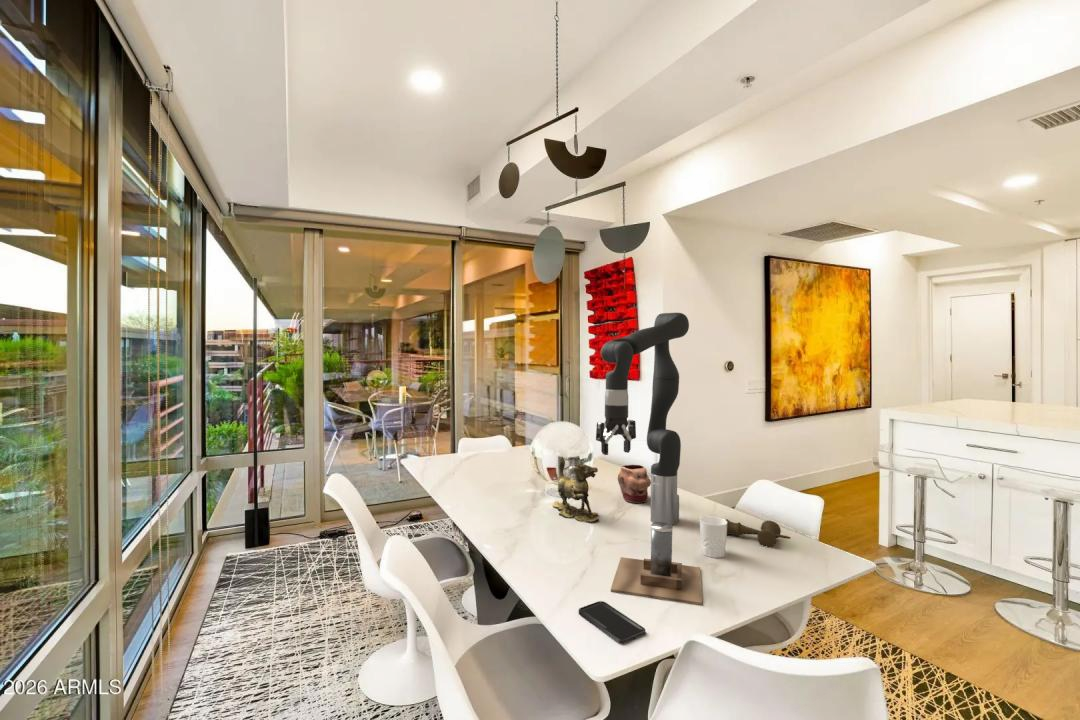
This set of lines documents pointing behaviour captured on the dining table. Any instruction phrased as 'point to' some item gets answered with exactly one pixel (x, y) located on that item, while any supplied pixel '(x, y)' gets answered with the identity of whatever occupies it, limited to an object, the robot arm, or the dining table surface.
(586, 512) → the figurine
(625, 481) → the decorative planter
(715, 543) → the white cup
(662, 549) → the graphite canister
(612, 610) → the phone
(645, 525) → the dining table surface
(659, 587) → the walnut bracket
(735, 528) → the kendama
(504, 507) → the dining table surface
